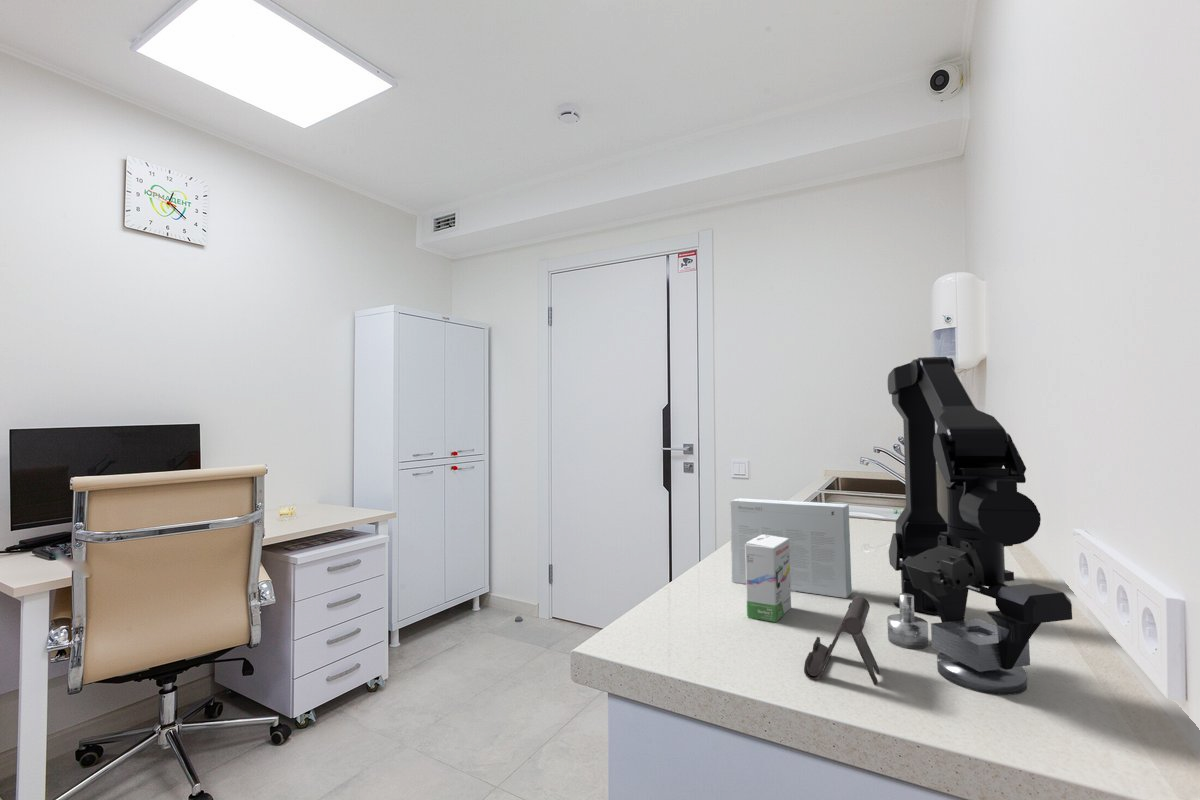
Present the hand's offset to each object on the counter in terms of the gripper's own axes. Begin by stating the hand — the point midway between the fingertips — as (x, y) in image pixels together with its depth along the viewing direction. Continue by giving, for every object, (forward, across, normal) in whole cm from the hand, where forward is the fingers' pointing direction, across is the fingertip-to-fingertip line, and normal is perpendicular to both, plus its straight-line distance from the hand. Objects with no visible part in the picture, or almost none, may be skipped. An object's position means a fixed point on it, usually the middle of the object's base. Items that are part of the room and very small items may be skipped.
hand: (979, 655), depth 69 cm
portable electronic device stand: (+3, -6, -15) cm, 16 cm away
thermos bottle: (+3, -37, +30) cm, 47 cm away
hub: (+2, 0, 0) cm, 3 cm away
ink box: (+3, -27, -13) cm, 30 cm away
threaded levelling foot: (+2, -11, -1) cm, 11 cm away
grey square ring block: (0, 0, 0) cm, 0 cm away
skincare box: (+3, -39, -3) cm, 39 cm away
